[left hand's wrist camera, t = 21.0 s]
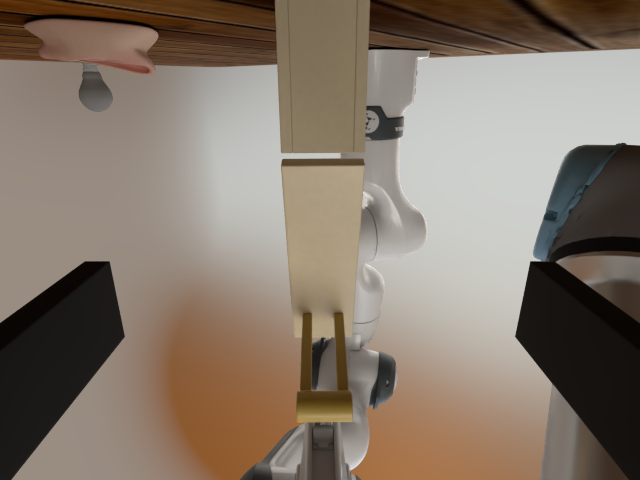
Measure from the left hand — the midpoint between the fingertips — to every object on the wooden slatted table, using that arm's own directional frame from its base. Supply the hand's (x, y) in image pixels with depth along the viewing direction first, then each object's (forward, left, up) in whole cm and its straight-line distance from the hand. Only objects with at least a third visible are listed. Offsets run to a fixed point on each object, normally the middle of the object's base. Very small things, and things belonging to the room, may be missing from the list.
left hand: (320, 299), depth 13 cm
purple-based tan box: (-14, +11, -12) cm, 21 cm away
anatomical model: (-12, +37, -12) cm, 41 cm away
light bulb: (-31, +82, -12) cm, 88 cm away
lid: (-11, +8, +5) cm, 14 cm away
